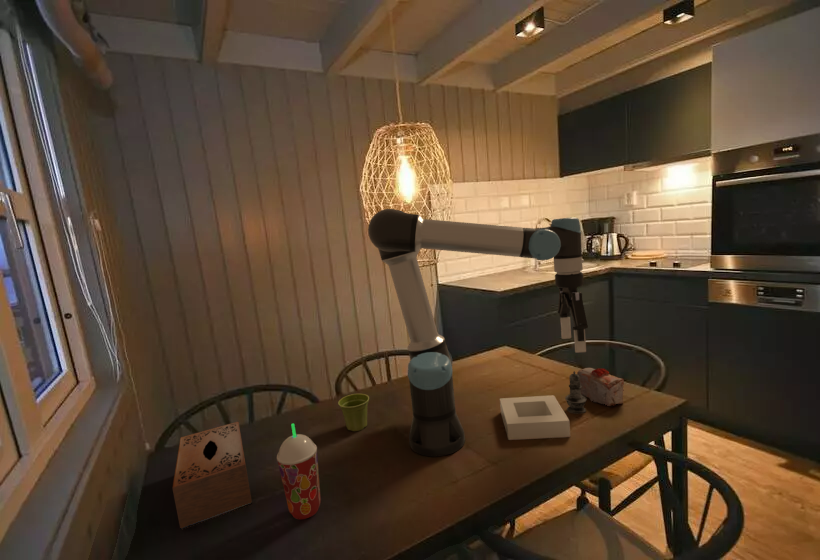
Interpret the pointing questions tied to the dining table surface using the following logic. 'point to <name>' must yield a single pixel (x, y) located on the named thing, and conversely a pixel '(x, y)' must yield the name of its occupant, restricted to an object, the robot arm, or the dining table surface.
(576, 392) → the dark chess piece
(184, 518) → the tissue box cover
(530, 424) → the square frame
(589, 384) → the food item
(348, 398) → the plant pot
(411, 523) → the dining table surface
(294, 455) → the smoothie
